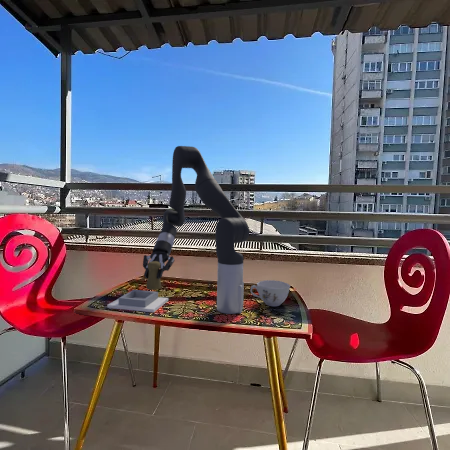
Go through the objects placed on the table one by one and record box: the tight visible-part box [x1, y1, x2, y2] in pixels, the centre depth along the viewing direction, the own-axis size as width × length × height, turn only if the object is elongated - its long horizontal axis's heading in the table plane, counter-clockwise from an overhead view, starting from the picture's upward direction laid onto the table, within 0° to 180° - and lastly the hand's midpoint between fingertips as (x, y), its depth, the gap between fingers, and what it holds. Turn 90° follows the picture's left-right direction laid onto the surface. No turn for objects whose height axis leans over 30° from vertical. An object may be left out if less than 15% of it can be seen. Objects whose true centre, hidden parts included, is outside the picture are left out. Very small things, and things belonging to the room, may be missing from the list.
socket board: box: [106, 289, 169, 313], centre depth 104 cm, size 18×13×4 cm
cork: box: [146, 261, 162, 291], centre depth 115 cm, size 6×6×11 cm
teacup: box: [250, 279, 291, 307], centre depth 107 cm, size 15×12×8 cm
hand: (152, 277), depth 113 cm, fingers closed on cork, 4 cm apart
